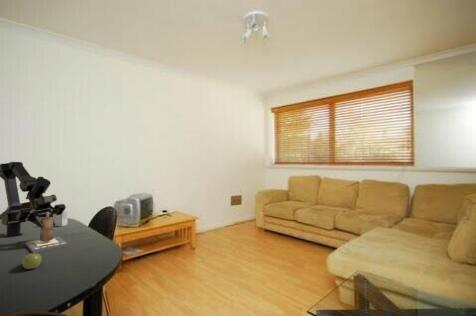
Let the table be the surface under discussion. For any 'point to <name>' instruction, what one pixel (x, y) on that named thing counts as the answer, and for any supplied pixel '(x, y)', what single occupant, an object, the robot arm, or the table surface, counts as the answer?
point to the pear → (31, 261)
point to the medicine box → (61, 219)
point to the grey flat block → (46, 244)
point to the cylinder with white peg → (47, 228)
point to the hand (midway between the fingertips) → (48, 226)
